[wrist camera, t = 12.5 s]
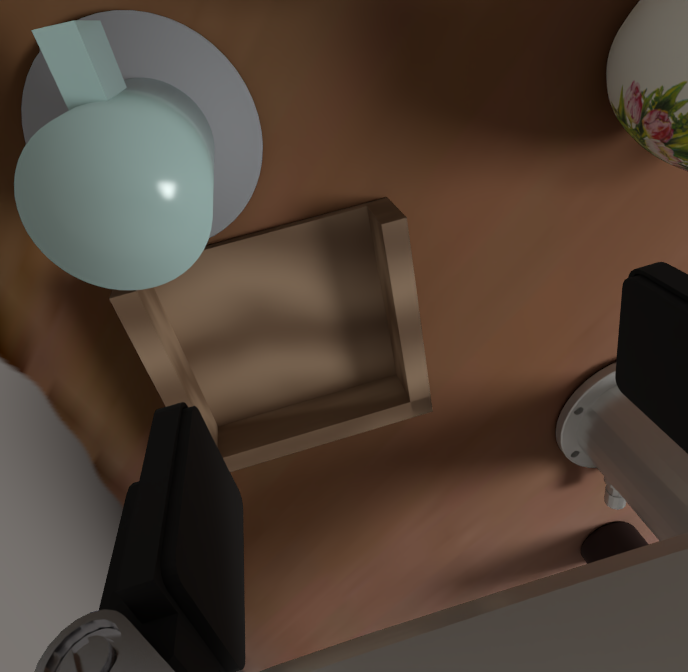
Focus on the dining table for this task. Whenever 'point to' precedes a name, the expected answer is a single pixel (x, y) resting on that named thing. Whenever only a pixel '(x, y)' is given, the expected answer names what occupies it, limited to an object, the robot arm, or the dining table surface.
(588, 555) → the bottle
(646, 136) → the pitcher
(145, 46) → the mat
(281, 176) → the dining table surface
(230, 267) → the holder
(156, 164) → the jug
